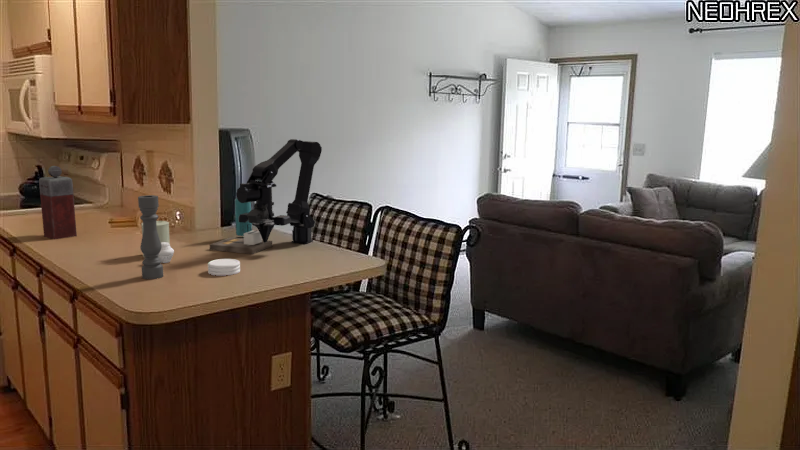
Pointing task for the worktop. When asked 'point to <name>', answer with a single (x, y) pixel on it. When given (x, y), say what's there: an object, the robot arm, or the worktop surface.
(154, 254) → the candle holder
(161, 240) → the can
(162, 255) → the muffin
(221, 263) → the white flat disc
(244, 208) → the beverage bottle
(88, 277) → the worktop surface
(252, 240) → the fader knob
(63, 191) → the red lidded canister
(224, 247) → the fader console
